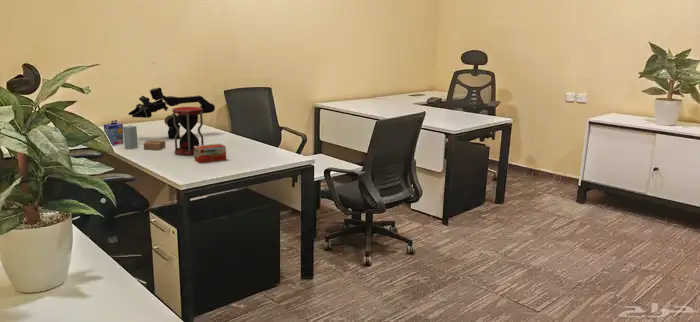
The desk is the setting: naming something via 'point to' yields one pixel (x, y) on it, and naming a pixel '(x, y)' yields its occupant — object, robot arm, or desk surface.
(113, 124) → the ink cartridge box
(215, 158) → the medicine box
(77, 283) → the desk surface
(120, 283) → the desk surface
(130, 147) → the slate post
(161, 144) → the walnut block
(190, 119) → the hourglass
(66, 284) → the desk surface
